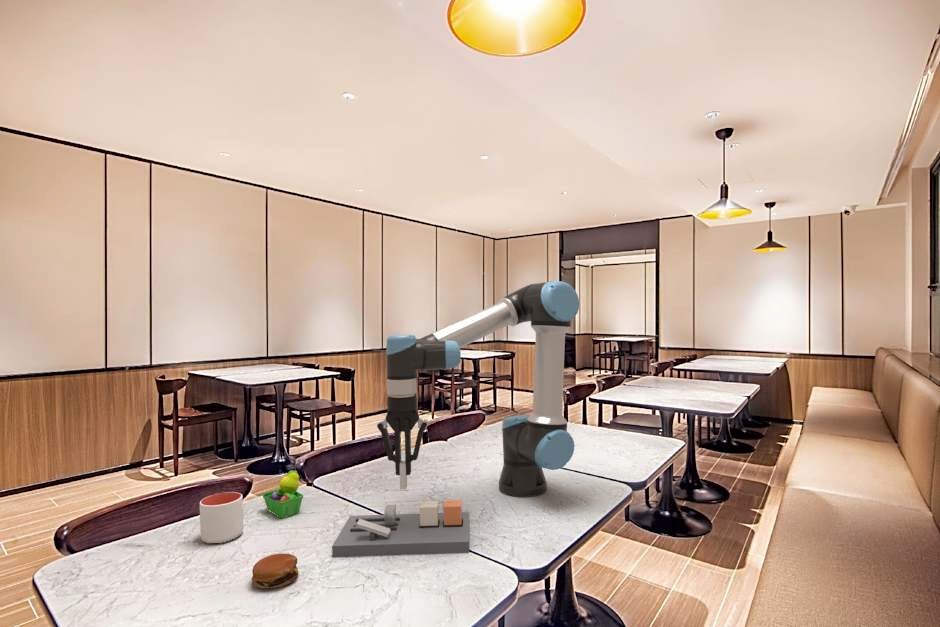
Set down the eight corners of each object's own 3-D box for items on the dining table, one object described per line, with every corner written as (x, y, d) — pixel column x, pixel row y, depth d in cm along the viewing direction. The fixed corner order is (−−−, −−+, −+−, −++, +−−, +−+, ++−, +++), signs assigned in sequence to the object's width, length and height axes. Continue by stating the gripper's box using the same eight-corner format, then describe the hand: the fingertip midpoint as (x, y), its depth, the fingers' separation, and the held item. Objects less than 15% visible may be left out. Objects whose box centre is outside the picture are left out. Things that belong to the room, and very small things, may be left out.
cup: (226, 547, 126) (225, 506, 126) (191, 544, 128) (190, 505, 128) (251, 530, 136) (250, 492, 136) (218, 528, 138) (217, 491, 138)
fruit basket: (261, 511, 149) (260, 473, 149) (289, 502, 155) (288, 465, 155) (280, 521, 141) (278, 480, 141) (309, 511, 148) (308, 472, 148)
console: (469, 521, 137) (468, 506, 137) (469, 552, 119) (468, 535, 119) (350, 525, 137) (349, 510, 137) (332, 556, 119) (331, 540, 119)
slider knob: (396, 520, 132) (395, 504, 132) (394, 525, 128) (393, 509, 128) (387, 520, 132) (386, 504, 132) (384, 526, 128) (384, 510, 128)
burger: (247, 578, 111) (246, 556, 111) (291, 565, 116) (290, 544, 116) (258, 598, 102) (257, 575, 102) (304, 583, 108) (304, 561, 108)
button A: (461, 517, 132) (461, 500, 132) (461, 524, 128) (461, 506, 128) (444, 518, 132) (444, 500, 132) (444, 525, 128) (443, 506, 128)
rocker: (389, 531, 124) (390, 528, 124) (387, 537, 121) (388, 534, 121) (358, 521, 124) (359, 518, 124) (355, 526, 121) (356, 523, 121)
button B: (438, 518, 132) (438, 500, 132) (437, 525, 128) (437, 507, 128) (421, 519, 132) (421, 501, 132) (420, 526, 128) (419, 507, 128)
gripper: (428, 392, 134) (430, 482, 134) (379, 393, 134) (380, 483, 134) (426, 396, 126) (428, 492, 126) (373, 397, 126) (375, 493, 126)
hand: (403, 487), depth 130 cm, fingers closed
